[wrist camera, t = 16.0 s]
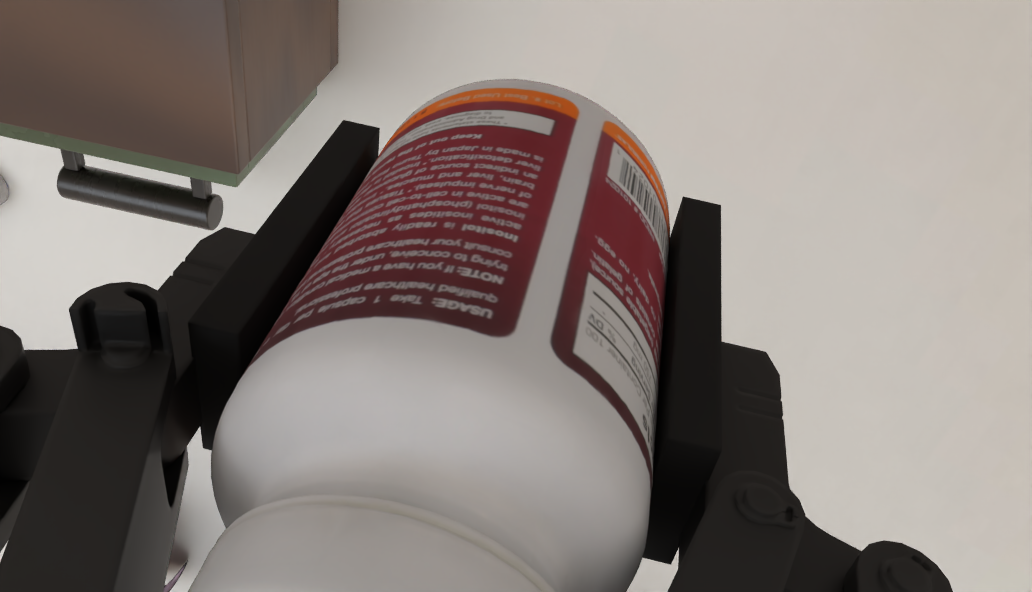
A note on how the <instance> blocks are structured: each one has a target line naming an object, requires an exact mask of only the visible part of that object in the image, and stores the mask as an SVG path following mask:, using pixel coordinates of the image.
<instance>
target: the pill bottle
mask: <svg viewBox="0 0 1032 592" xmlns="http://www.w3.org/2000/svg"><path fill="white" fill-rule="evenodd" d="M669 243H670V224H669V211H668V202H667V197H666V192H665V189H664V185H663V182H662V180H661V177H660V174H659V172H658V170H657V168H656V166H655V164H654V162H653V160H652V158H651V156H650V155H649V153H648V152H647V150H646V148H645V147H644V146H643V144H642V143H641V142H640V140H639V139H638V138H637V137H636V135H635V134H634V133H632V132H631V131H630V130H629V129H628V128H627V127H626V126H625V125H624V124H623V123H622V122H621V121H620V120H619V119H618V118H616V117H615V116H614V115H612V114H611V113H610V112H609V111H607V110H606V109H604V108H603V107H601V106H600V105H598V104H597V103H595V102H593V101H591V100H589V99H587V98H585V97H584V96H581V95H579V94H577V93H575V92H572V91H569V90H567V89H564V88H561V87H557V86H554V85H550V84H545V83H540V82H534V81H528V80H519V79H499V80H487V81H481V82H474V83H471V84H467V85H463V86H460V87H457V88H455V89H452V90H449V91H447V92H445V93H443V94H441V95H439V96H437V97H435V98H433V99H432V100H430V101H428V102H427V103H425V104H424V105H422V106H421V107H420V108H418V109H417V110H416V111H415V112H413V113H412V114H411V115H410V116H409V117H408V118H407V119H406V120H405V121H404V122H403V123H402V125H401V126H400V127H399V128H398V129H397V131H396V132H395V133H394V135H393V136H392V137H391V138H390V140H389V141H388V142H387V144H386V145H385V147H384V148H383V150H382V152H381V153H380V155H379V156H378V158H377V159H376V161H375V163H374V165H373V166H372V168H371V169H370V171H369V173H368V174H367V176H366V178H365V179H364V181H363V182H362V184H361V186H360V187H359V189H358V190H357V192H356V194H355V195H354V197H353V199H352V200H351V202H350V204H349V205H348V207H347V209H346V210H345V212H344V213H343V215H342V216H341V218H340V220H339V221H338V223H337V224H336V226H335V228H334V229H333V231H332V232H331V234H330V236H329V237H328V239H327V240H326V242H325V244H324V245H323V247H322V249H321V250H320V252H319V253H318V255H317V256H316V258H315V259H314V261H313V262H312V264H311V266H310V268H309V269H308V271H307V272H306V274H305V276H304V277H303V279H302V280H301V281H300V283H299V285H298V286H297V288H296V290H295V291H294V293H293V294H292V296H291V298H290V300H289V302H288V303H287V305H286V306H285V308H284V309H283V311H282V313H281V315H280V316H279V318H278V319H277V321H276V322H275V324H274V326H273V327H272V329H271V331H270V332H269V333H268V335H267V337H266V338H265V340H264V341H263V343H262V345H261V346H260V348H259V350H258V351H257V353H256V355H255V356H254V358H253V359H252V361H251V362H250V364H249V365H248V367H247V369H246V370H245V372H244V374H243V375H242V377H241V378H240V380H239V382H238V383H237V386H236V388H235V389H234V391H233V393H232V395H231V397H230V398H229V400H228V402H227V404H226V406H225V408H224V410H223V413H222V415H221V418H220V420H219V423H218V426H217V429H216V433H215V437H214V442H213V448H212V454H211V479H212V485H213V491H214V496H215V500H216V504H217V507H218V510H219V513H220V515H221V518H222V520H223V522H224V525H225V527H226V530H225V531H224V532H223V533H222V535H221V536H220V537H219V539H218V540H217V542H216V544H215V546H214V547H213V548H212V550H211V551H210V553H209V554H208V556H207V558H206V560H205V562H204V564H203V566H202V568H201V570H200V571H199V573H198V575H197V577H196V578H195V580H194V582H193V584H192V585H191V587H190V589H189V591H188V592H626V591H627V589H628V587H629V586H630V584H631V582H632V580H633V578H634V577H635V574H636V572H637V570H638V568H639V565H640V563H641V560H642V557H643V553H644V549H645V545H646V538H647V532H648V525H649V509H650V502H651V491H652V483H653V463H654V449H655V435H656V423H657V406H658V392H659V379H660V368H661V350H662V338H663V326H664V313H665V299H666V282H667V272H668V257H669Z"/></svg>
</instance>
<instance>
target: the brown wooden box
mask: <svg viewBox="0 0 1032 592" xmlns="http://www.w3.org/2000/svg"><path fill="white" fill-rule="evenodd" d="M337 63H338V0H0V123H3V124H8V125H13V126H17V127H22V128H26V129H31V130H36V131H40V132H45V133H49V134H54V135H58V136H63V137H68V138H72V139H77V140H81V141H86V142H91V143H95V144H100V145H104V146H109V147H114V148H118V149H123V150H127V151H132V152H136V153H141V154H146V155H150V156H155V157H159V158H164V159H169V160H173V161H178V162H182V163H187V164H191V165H196V166H201V167H205V168H210V169H214V170H219V171H224V172H228V173H233V174H240V173H241V172H242V171H243V169H244V168H245V167H246V166H247V165H248V164H249V162H251V161H252V160H253V159H254V157H255V156H256V155H257V154H258V153H259V152H260V151H261V149H262V148H263V147H264V146H265V145H266V144H267V143H268V141H269V140H270V139H271V138H272V137H273V136H274V135H275V134H276V132H277V131H278V130H279V129H280V128H281V127H282V126H283V124H284V123H285V122H286V121H287V120H288V119H289V118H290V117H291V115H292V114H293V113H294V112H295V111H296V110H297V109H298V107H299V106H300V105H301V104H302V103H303V102H304V101H305V100H306V98H307V97H308V96H309V95H310V94H311V93H312V92H313V90H314V89H315V88H316V87H317V86H318V85H319V84H320V82H321V81H322V80H323V79H324V78H325V77H326V76H327V75H328V73H329V72H330V71H331V70H332V69H333V68H334V67H335V66H336V65H337Z"/></svg>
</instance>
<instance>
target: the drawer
mask: <svg viewBox="0 0 1032 592" xmlns="http://www.w3.org/2000/svg"><path fill="white" fill-rule="evenodd" d="M316 95H317V87H316V88H315V89H314V90H313V92H312V93H311V94H310V95H309V96H308V97H307V98H306V100H305V101H304V102H303V103H302V104H301V105H300V106H299V107H298V109H297V110H296V111H295V112H294V113H293V114H292V115H291V117H290V118H289V119H288V120H287V121H286V122H285V123H284V124H283V126H282V127H281V128H280V129H279V130H278V131H277V132H276V134H275V135H274V136H273V137H272V138H271V139H270V140H269V141H268V143H267V144H266V145H265V146H264V147H263V148H262V149H261V151H260V152H259V153H258V154H257V155H256V156H255V157H254V159H253V160H252V161H251V162H249V164H248V165H247V166H246V167H245V168H244V169H243V171H242V172H241V173H240V174H233V173H228V172H224V171H219V170H214V169H210V168H205V167H201V166H196V165H191V164H187V163H182V162H178V161H173V160H169V159H164V158H159V157H155V156H150V155H146V154H141V153H136V152H132V151H127V150H123V149H118V148H114V147H109V146H104V145H100V144H95V143H91V142H86V141H81V140H77V139H72V138H68V137H63V136H58V135H54V134H49V133H45V132H40V131H36V130H31V129H26V128H22V127H17V126H13V125H8V124H3V123H0V136H4V137H9V138H13V139H18V140H23V141H27V142H32V143H36V144H41V145H45V146H50V147H54V148H59V149H61V154H62V158H63V162H64V166H63V167H62V169H61V170H60V172H59V175H58V179H57V188H58V192H59V194H60V195H61V196H62V197H64V198H68V199H72V200H77V201H81V202H85V203H90V204H94V205H99V206H103V207H108V208H112V209H117V210H121V211H126V212H130V213H135V214H139V215H144V216H148V217H153V218H157V219H162V220H166V221H171V222H175V223H180V224H184V225H189V226H193V227H198V228H202V229H207V230H214V229H215V228H216V227H217V226H218V225H219V223H220V220H221V218H222V213H223V200H222V198H221V197H220V196H219V195H217V194H212V188H211V182H214V183H219V184H223V185H228V186H232V187H238V185H239V184H240V183H241V182H242V181H243V180H244V179H245V177H246V176H247V175H248V174H249V173H250V172H251V170H252V169H253V168H254V167H255V166H256V165H257V164H258V162H259V161H260V160H261V159H262V158H263V157H264V155H265V154H266V153H267V152H268V151H269V150H270V149H271V147H272V146H273V145H274V144H275V143H276V142H277V140H278V139H279V138H280V137H281V136H282V135H283V133H284V132H285V131H286V130H287V129H288V128H289V127H290V125H291V124H292V123H293V122H294V121H295V120H296V118H297V117H298V116H299V115H300V114H301V113H302V112H303V110H304V109H305V108H306V107H307V106H308V105H309V103H310V102H311V101H312V100H313V99H314V98H315V96H316ZM83 154H86V155H91V156H96V157H100V158H105V159H109V160H114V161H118V162H123V163H127V164H132V165H137V166H141V167H146V168H150V169H155V170H159V171H164V172H169V173H173V174H178V175H182V176H187V177H190V179H191V187H192V189H189V188H185V187H180V186H176V185H171V184H167V183H162V182H158V181H153V180H148V179H144V178H139V177H135V176H130V175H126V174H121V173H117V172H112V171H108V170H103V169H98V168H94V167H89V166H85V160H84V155H83Z"/></svg>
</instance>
